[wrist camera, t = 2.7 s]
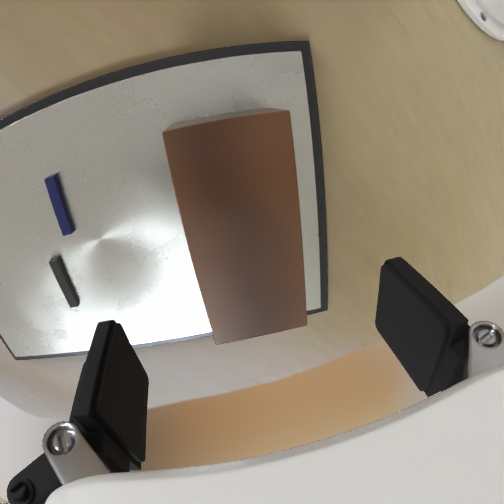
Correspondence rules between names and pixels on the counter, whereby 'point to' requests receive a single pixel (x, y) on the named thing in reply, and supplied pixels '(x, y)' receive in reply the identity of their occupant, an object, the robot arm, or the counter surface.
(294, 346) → the counter surface
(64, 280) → the bar
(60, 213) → the stroke navy
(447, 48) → the counter surface
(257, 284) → the eraser
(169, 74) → the whiteboard
